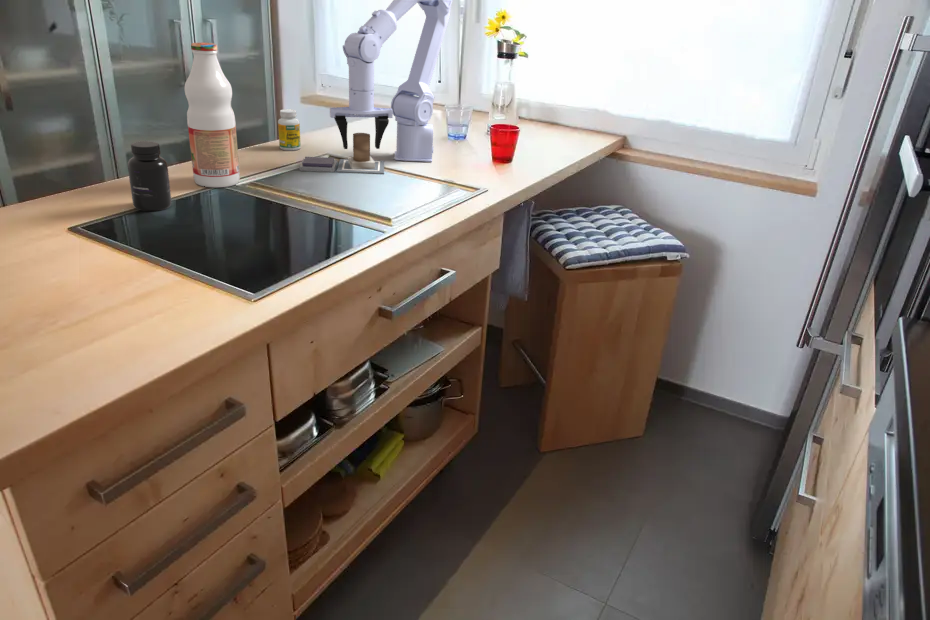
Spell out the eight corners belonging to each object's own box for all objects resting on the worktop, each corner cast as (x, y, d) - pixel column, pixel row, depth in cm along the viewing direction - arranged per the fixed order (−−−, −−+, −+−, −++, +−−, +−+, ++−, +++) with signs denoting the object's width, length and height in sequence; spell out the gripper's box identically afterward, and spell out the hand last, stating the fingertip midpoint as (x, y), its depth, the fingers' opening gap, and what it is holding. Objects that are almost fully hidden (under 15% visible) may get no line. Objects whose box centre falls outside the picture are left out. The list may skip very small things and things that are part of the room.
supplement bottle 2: (293, 145, 180) (292, 107, 176) (304, 149, 177) (303, 111, 173) (275, 147, 177) (273, 109, 173) (286, 151, 174) (284, 113, 169)
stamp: (370, 162, 169) (370, 132, 165) (375, 168, 164) (375, 137, 161) (348, 162, 167) (348, 132, 164) (352, 169, 162) (351, 137, 159)
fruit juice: (215, 191, 142) (200, 47, 129) (184, 182, 146) (167, 42, 133) (249, 181, 149) (239, 45, 136) (219, 173, 153) (207, 40, 141)
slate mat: (384, 162, 171) (384, 160, 171) (383, 174, 161) (383, 172, 161) (340, 160, 170) (340, 158, 170) (336, 172, 160) (336, 170, 160)
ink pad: (336, 164, 166) (336, 157, 166) (334, 172, 160) (334, 164, 159) (303, 162, 166) (303, 155, 165) (299, 170, 159) (299, 163, 159)
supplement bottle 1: (135, 213, 127) (125, 149, 122) (132, 202, 132) (122, 140, 127) (174, 210, 130) (166, 147, 125) (170, 199, 135) (162, 138, 130)
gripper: (388, 86, 163) (387, 143, 169) (327, 85, 159) (328, 144, 165) (395, 92, 157) (393, 150, 163) (331, 91, 153) (332, 151, 159)
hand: (361, 148), depth 164 cm, fingers open, 7 cm apart
